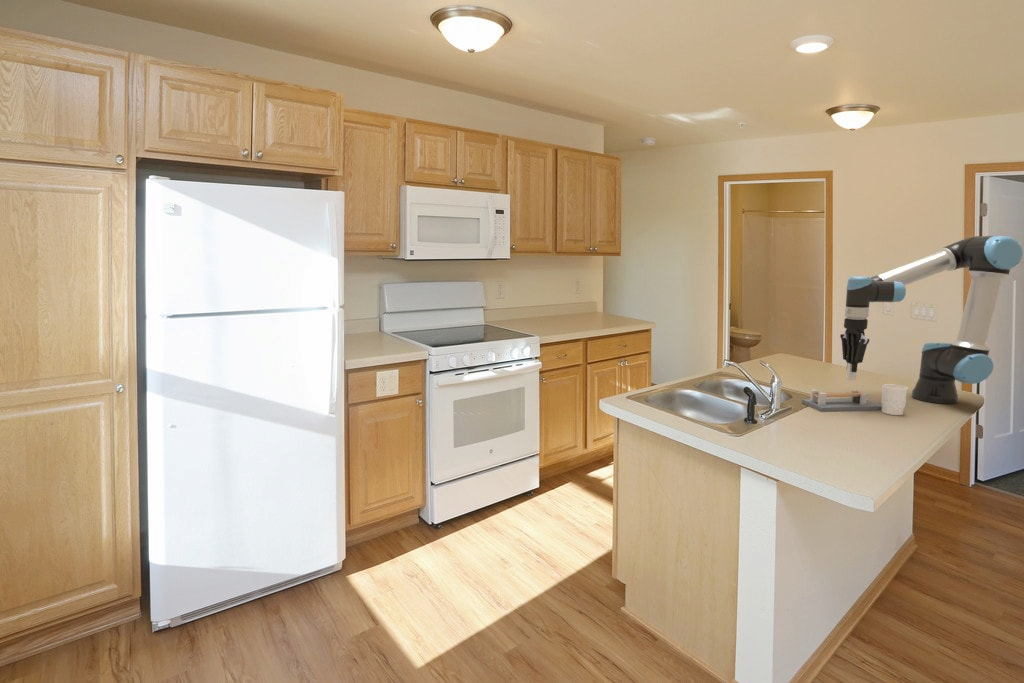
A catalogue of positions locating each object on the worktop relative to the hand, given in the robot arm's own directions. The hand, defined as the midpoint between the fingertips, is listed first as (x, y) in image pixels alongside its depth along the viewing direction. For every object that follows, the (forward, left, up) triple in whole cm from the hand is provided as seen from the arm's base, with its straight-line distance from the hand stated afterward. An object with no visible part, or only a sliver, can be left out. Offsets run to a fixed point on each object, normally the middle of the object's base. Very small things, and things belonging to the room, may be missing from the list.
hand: (850, 379), depth 219 cm
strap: (+4, 0, -6) cm, 8 cm away
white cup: (-11, +9, -11) cm, 18 cm away
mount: (+2, 0, -10) cm, 11 cm away
